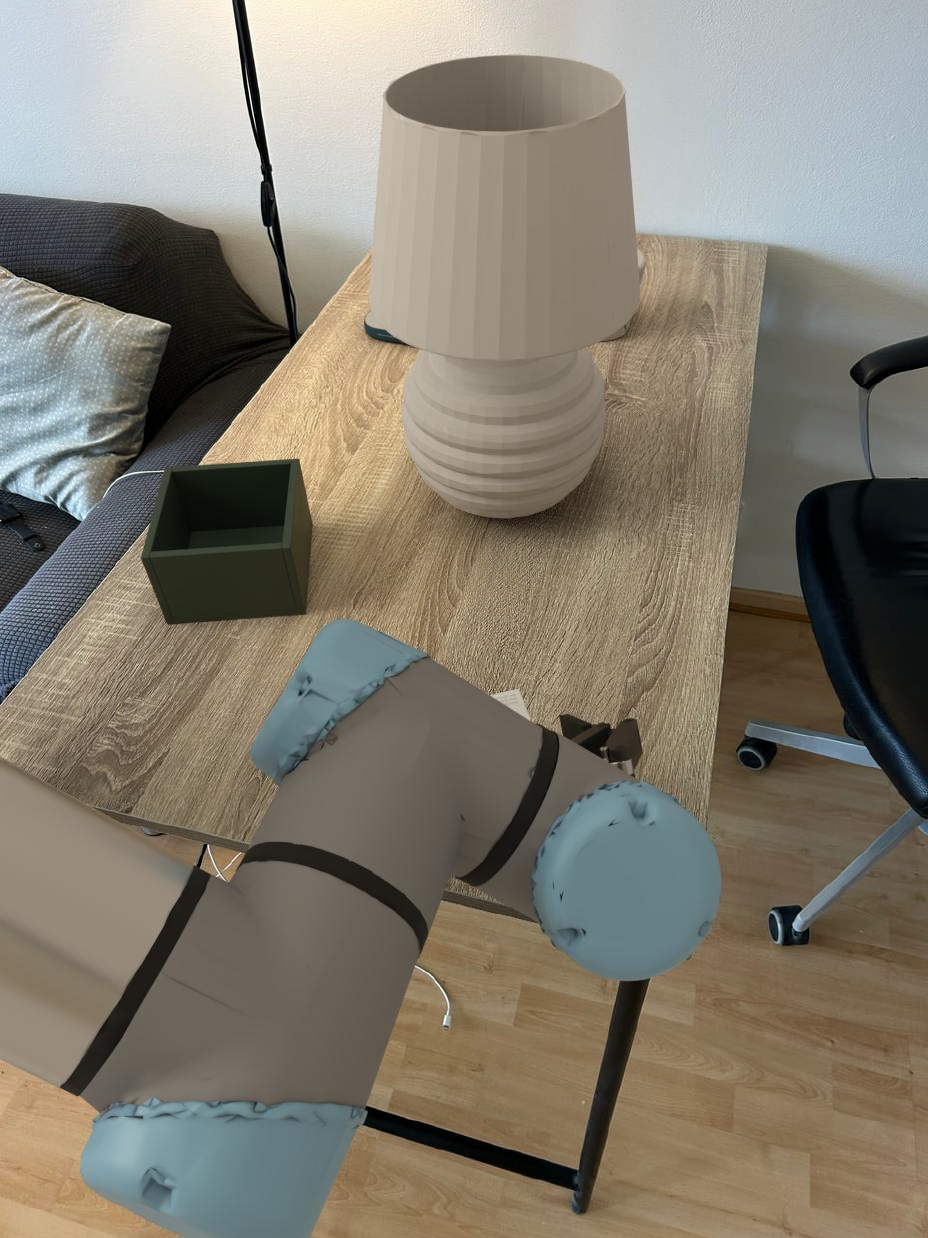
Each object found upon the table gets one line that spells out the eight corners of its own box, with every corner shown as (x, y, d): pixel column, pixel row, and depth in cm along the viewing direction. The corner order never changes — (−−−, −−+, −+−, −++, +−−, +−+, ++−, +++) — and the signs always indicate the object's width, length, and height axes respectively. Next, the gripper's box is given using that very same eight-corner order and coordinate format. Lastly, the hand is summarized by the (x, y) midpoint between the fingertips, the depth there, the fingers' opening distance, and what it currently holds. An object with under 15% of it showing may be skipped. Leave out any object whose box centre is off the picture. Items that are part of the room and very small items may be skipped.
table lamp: (566, 405, 111) (588, 31, 82) (655, 532, 95) (723, 117, 66) (368, 447, 107) (317, 65, 78) (425, 587, 90) (388, 167, 61)
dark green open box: (166, 624, 88) (140, 557, 81) (187, 533, 97) (164, 467, 91) (305, 614, 88) (290, 547, 82) (312, 524, 97) (299, 458, 91)
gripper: (336, 930, 48) (335, 832, 69) (769, 823, 51) (642, 761, 72) (308, 792, 47) (316, 736, 68) (746, 694, 51) (625, 670, 72)
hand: (483, 749), depth 70 cm, fingers open, 13 cm apart
